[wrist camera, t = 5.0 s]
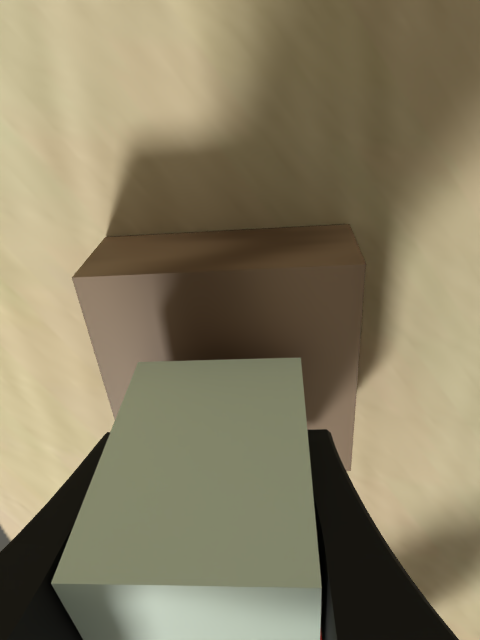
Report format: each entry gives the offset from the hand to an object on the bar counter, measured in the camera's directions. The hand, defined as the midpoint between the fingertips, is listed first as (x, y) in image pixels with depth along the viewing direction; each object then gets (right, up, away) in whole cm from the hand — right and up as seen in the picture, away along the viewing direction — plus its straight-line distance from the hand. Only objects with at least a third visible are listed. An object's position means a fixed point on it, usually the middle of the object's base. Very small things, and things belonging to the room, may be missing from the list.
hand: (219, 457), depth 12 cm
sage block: (0, +1, +2) cm, 2 cm away
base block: (0, +3, +5) cm, 6 cm away
